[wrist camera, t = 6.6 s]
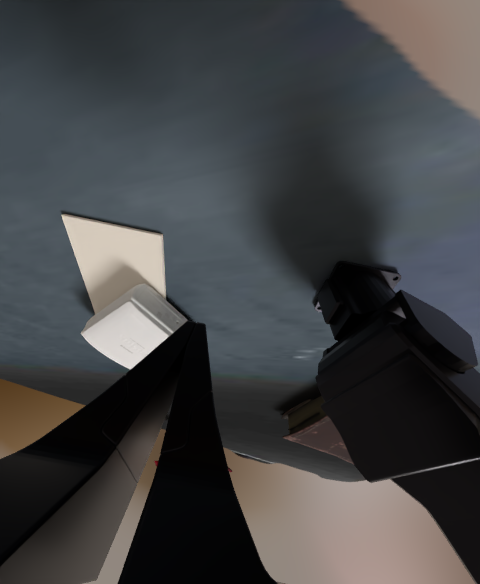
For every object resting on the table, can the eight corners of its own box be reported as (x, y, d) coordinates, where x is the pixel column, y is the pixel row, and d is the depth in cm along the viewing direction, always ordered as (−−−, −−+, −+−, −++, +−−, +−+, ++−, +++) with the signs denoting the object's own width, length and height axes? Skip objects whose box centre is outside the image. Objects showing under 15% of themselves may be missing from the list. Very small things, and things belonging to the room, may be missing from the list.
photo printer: (193, 356, 25) (132, 380, 30) (202, 330, 28) (145, 355, 33) (123, 298, 20) (65, 338, 25) (144, 275, 24) (88, 315, 29)
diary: (346, 369, 32) (358, 402, 28) (453, 418, 37) (477, 452, 33) (278, 413, 42) (280, 442, 38) (369, 447, 47) (379, 475, 43)
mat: (162, 234, 21) (161, 235, 21) (168, 336, 31) (167, 339, 30) (64, 213, 21) (61, 214, 20) (101, 323, 30) (99, 325, 30)
